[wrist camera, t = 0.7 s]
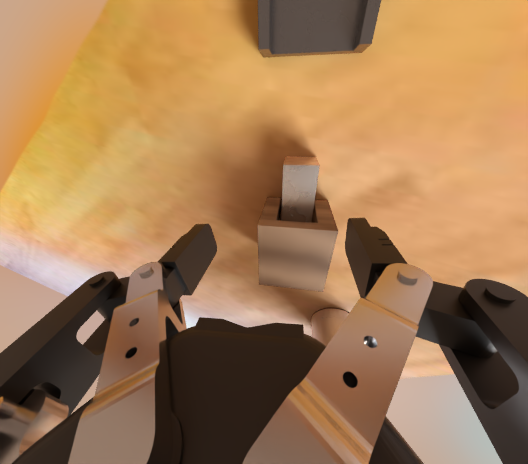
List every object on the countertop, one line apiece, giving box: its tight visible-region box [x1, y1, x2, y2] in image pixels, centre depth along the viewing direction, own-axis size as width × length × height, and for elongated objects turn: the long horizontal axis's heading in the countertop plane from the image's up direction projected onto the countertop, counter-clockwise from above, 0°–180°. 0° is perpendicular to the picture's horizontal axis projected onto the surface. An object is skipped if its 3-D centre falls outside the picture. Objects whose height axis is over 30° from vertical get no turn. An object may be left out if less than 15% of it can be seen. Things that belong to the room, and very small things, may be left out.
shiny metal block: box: [281, 156, 319, 223], centre depth 26 cm, size 11×4×5 cm, turn 1°
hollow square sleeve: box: [258, 197, 338, 292], centre depth 27 cm, size 10×9×8 cm
